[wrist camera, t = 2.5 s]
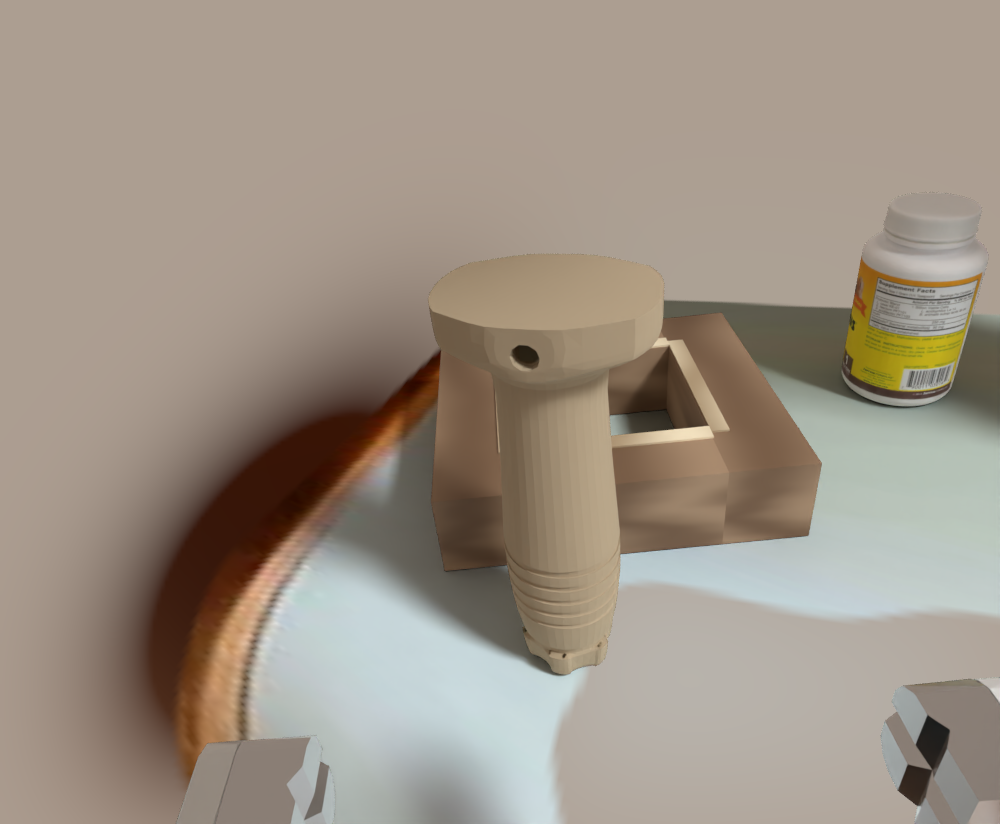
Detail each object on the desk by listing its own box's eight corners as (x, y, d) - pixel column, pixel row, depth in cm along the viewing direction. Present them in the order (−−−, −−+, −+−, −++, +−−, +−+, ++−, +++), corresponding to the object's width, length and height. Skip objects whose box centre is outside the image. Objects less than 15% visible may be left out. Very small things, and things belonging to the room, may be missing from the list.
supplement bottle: (864, 349, 44) (899, 180, 38) (965, 378, 40) (1021, 196, 34) (820, 388, 41) (851, 211, 35) (925, 424, 37) (978, 232, 32)
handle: (506, 585, 31) (461, 252, 23) (659, 608, 29) (672, 255, 21) (472, 681, 27) (402, 324, 19) (645, 714, 25) (653, 334, 17)
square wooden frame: (716, 373, 43) (721, 310, 41) (808, 535, 31) (822, 461, 29) (451, 400, 44) (441, 340, 41) (444, 570, 32) (430, 500, 30)
